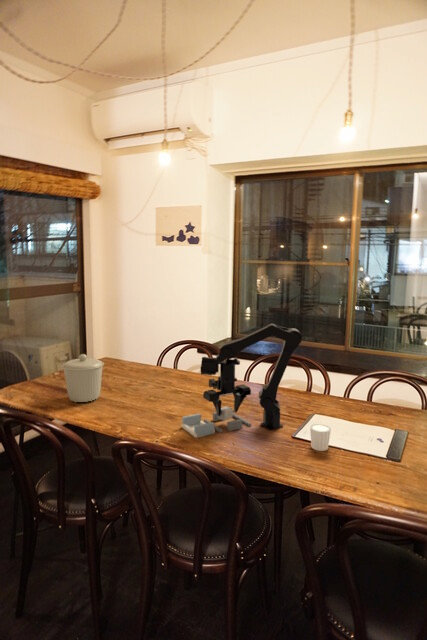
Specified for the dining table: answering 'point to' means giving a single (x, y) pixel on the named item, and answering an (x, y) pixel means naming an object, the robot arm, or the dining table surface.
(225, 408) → the usb wall charger
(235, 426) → the blocks
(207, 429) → the drawer
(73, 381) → the canister
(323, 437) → the shot glass
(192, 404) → the dining table surface
